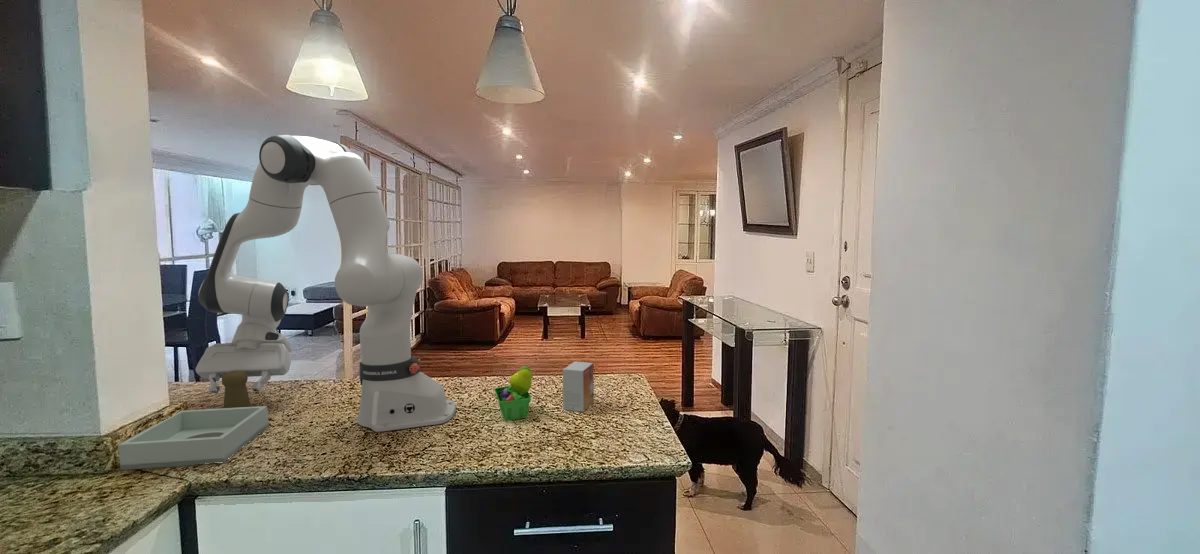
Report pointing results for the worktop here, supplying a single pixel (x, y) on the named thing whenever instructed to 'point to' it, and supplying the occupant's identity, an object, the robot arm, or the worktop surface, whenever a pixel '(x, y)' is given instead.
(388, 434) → the worktop surface
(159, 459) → the grey square tray
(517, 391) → the fruit basket
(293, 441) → the worktop surface
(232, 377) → the cork
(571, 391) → the small box
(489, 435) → the worktop surface
